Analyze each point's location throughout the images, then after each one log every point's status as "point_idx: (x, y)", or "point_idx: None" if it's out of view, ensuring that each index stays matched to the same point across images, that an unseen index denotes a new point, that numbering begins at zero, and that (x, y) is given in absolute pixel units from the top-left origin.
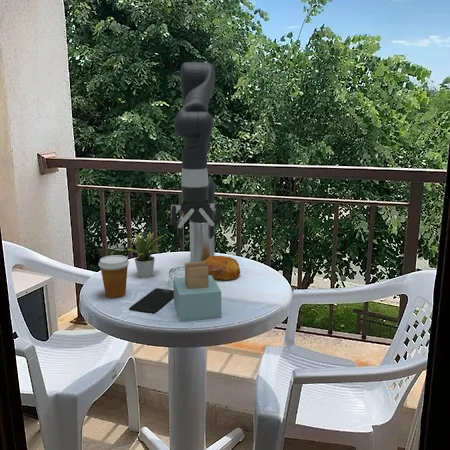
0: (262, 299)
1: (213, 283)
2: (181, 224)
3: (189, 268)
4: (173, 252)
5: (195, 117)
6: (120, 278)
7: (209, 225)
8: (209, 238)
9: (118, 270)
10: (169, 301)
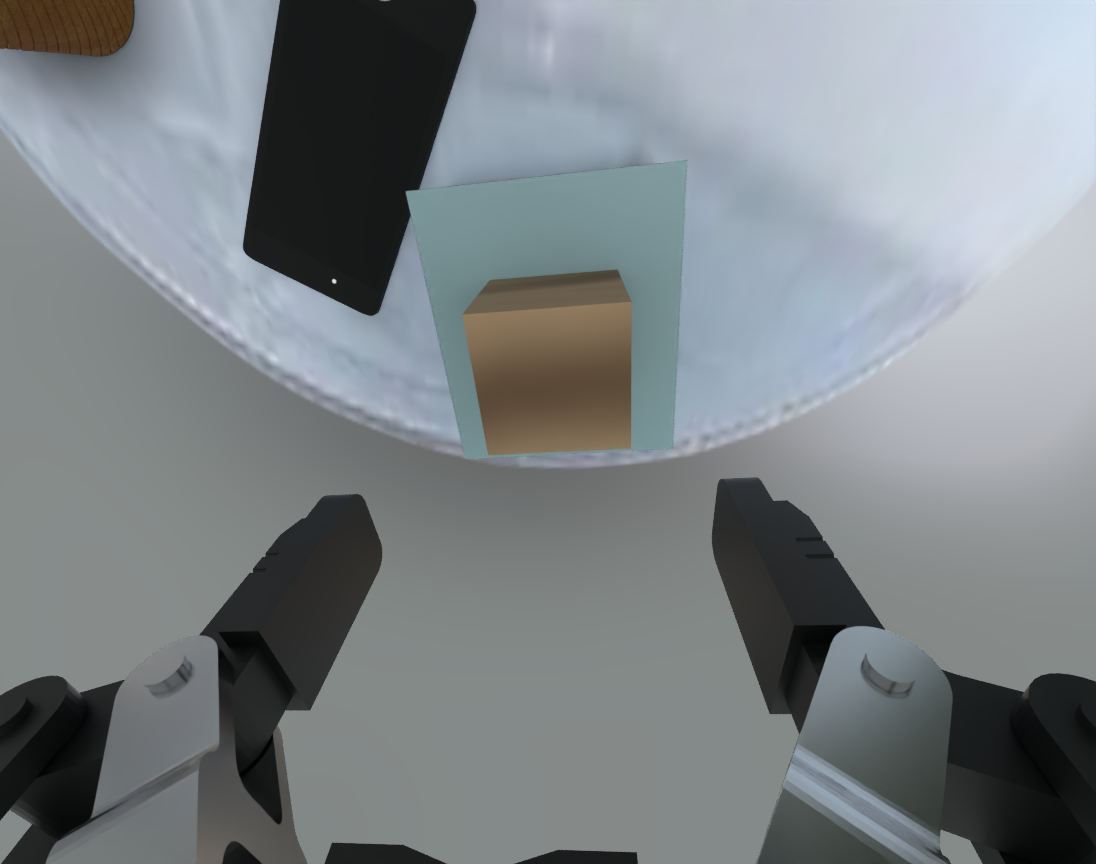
0: (929, 210)
1: (660, 332)
2: (251, 795)
3: (499, 440)
4: None
5: None
6: (3, 26)
7: (797, 669)
8: (713, 530)
9: None
10: (424, 169)
